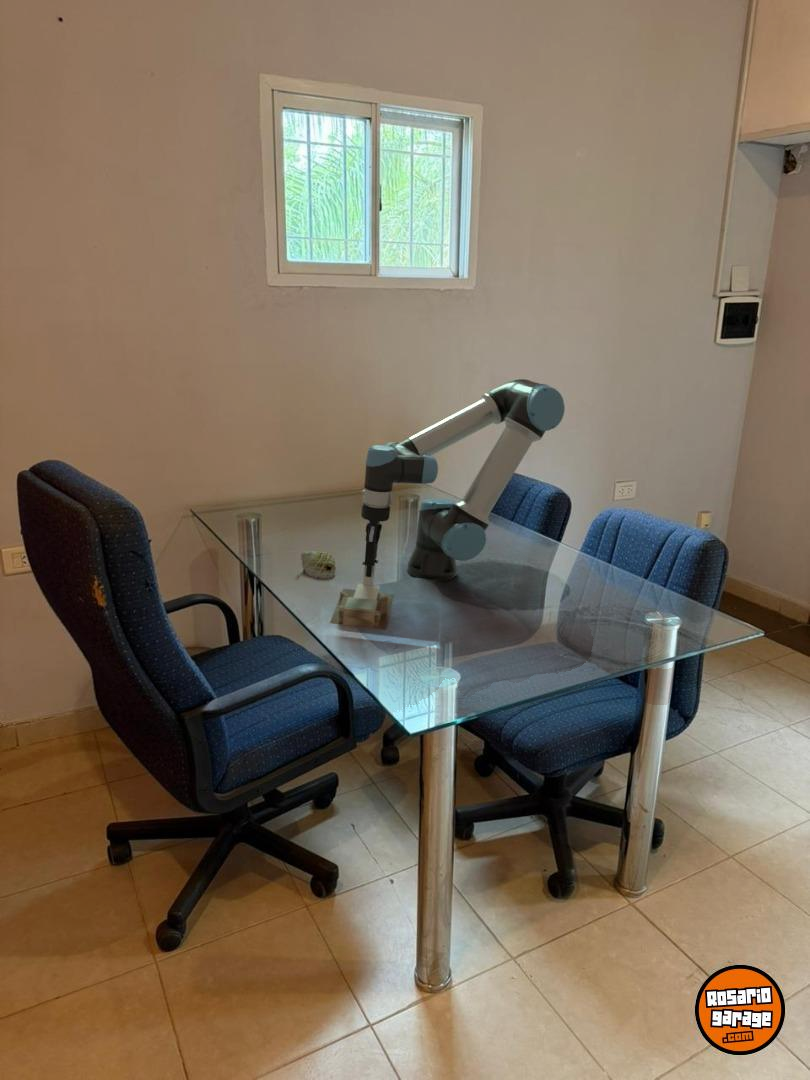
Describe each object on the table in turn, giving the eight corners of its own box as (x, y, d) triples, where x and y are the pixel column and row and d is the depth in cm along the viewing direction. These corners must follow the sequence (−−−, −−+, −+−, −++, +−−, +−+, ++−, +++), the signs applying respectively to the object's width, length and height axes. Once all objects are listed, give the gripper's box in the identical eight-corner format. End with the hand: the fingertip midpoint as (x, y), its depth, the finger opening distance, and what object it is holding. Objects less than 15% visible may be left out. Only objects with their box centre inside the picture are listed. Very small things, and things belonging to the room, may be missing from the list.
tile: (379, 592, 206) (379, 586, 205) (375, 608, 195) (375, 601, 195) (357, 590, 206) (358, 583, 205) (352, 605, 195) (352, 598, 195)
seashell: (335, 582, 211) (321, 551, 208) (305, 592, 214) (291, 561, 211) (344, 569, 220) (330, 538, 218) (315, 578, 223) (301, 548, 220)
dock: (393, 598, 206) (395, 580, 204) (385, 634, 184) (387, 613, 182) (342, 592, 206) (344, 573, 205) (329, 627, 185) (331, 606, 183)
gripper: (365, 496, 205) (357, 576, 213) (359, 508, 193) (351, 593, 200) (392, 499, 205) (383, 579, 212) (387, 512, 193) (378, 596, 200)
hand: (367, 586), depth 206 cm, fingers closed
